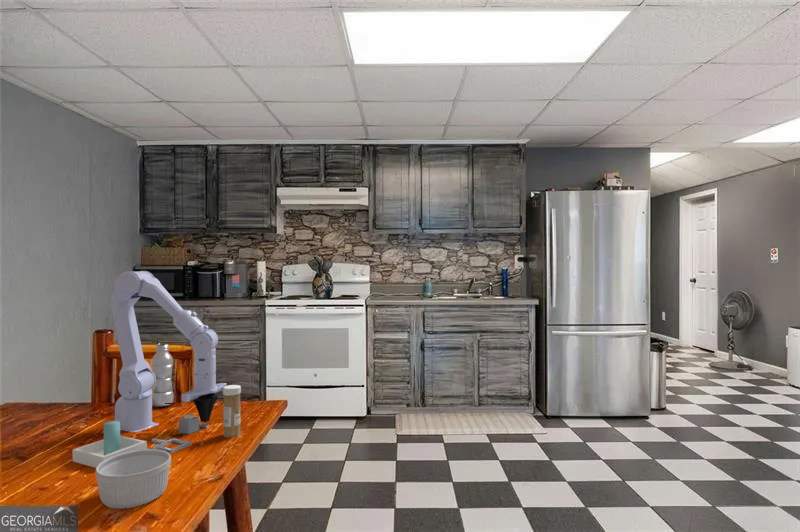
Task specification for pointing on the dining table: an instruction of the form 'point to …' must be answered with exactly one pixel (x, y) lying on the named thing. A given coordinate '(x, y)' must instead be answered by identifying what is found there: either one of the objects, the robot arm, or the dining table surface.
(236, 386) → the sprinkles bottle
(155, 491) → the ramekin
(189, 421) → the carriage
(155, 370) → the plastic bottle
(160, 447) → the block
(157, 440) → the rail
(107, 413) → the dining table surface
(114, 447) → the pin
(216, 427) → the dining table surface
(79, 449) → the tray
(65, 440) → the dining table surface
